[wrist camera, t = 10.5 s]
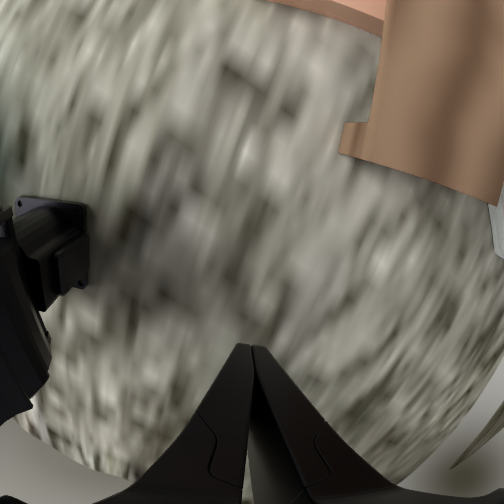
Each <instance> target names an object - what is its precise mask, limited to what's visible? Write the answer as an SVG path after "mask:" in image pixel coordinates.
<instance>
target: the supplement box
mask: <svg viewBox="0 0 504 504" xmlns="http://www.w3.org/2000/svg"><path fill="white" fill-rule="evenodd" d="M488 207H489V213H490V220H491V226H492V234H493V243H494V253H495V254H497V255H498V256H500V257H501V258H503V259H504V182H503V186H502V191H501V195H500V198H499V202H498V206H497V207H495V206H493V205H491V204H488Z"/></svg>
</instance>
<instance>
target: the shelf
mask: <svg viewBox="0 0 504 504" xmlns="http://www.w3.org/2000/svg"><path fill="white" fill-rule="evenodd" d="M338 153H341V154H345V155H349V156H352V157H356V158H359V159H363V160H366V161H370V162H373V163H376V164H380V165H383V166H386V167H390V168H393V169H396V170H399V171H403V172H406V173H409V174H412V175H415V176H418V177H421V178H424V179H426V180H429V181H432V182H435V183H438V184H440V185H443V186H446V187H449V188H451V189H454V190H456V191H459V192H462V193H464V194H467V195H469V196H472V197H474V198H477V199H479V200H481V201H484V202H486V203H488V204H491V205H493V206H495V207H497V206H498V202H499V198H500V195H501V191H502V186H503V182H504V0H386V9H385V18H384V27H383V35H382V43H381V50H380V57H379V64H378V70H377V77H376V83H375V89H374V94H373V100H372V105H371V111H370V116H369V121H368V122H358V123H345V124H344V129H343V133H342V138H341V143H340V148H339V152H338Z"/></svg>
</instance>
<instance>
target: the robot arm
mask: <svg viewBox="0 0 504 504" xmlns="http://www.w3.org/2000/svg"><path fill="white" fill-rule="evenodd" d="M20 201H21V202H22V205H21V203H20ZM15 208H16V218H14V219H13V220H12V216H13V212H12V207H11V206H8V207H2V206H0V426H1V425H2V424H3V423H4V422H5V421H7V420H9V419H10V418H12V417H14V416H15V415H17V414H19V413H22V412H25V411H27V410H30V409H32V408H33V404H32V403H31V401H30V399H31V398H32V397H33V396H34V395H35V394H36V393H37V392H38V391H40V390H41V389H42V388H43V386H44V385H45V383H46V382H47V380H48V379H49V376H50V375H49V373H48V369H49V366H50V362H51V359H52V355H51V348H50V343H51V337H50V334H49V332H48V331H46V328H45V326H44V323H43V321H42V318H41V316H40V313H39V311H42V312H45V311H46V310H47V309H48V308H49V307H50V306H51V305H52V303H53V302H54V301H55V300H56V299H57V298H58V297H59V295H60V296H64V295H65V294H66V293H67V292H68V291H69V290H70V289H71V288H72V287H74V288H79V289H84V288H86V286H87V285H88V269H89V267H90V266H89V236H88V235H87V233H86V217H87V210H86V207H85V205H84V204H83V203H79V202H70V201H62V200H54V199H45V198H37V197H28V196H20V197H18V198H17V199H16V201H15ZM78 208H80V210H81V213H79V212H78V210H77V209H78ZM80 280H81V281H82V282H83V284H82V283H81V282H80ZM247 449H248V458H249V467H250V475H251V484H252V492H253V500H254V504H504V488H499V489H497V490H495V491H493V492H491V493H490V494H487V495H485V496H481V497H472V498H468V497H467V498H466V497H455V496H446V495H439V494H431V493H425V492H419V491H414V490H409V489H405V488H402V487H399V486H397V485H395V484H393V483H392V482H390V481H389V480H387V479H386V478H385V477H384V476H382V475H381V474H380V473H379V472H378V471H377V470H375V469H374V468H373V467H372V466H371V465H370V464H369V463H367V462H366V461H365V460H364V459H363V458H362V457H361V456H359V455H358V454H357V453H356V452H355V451H354V450H353V449H352V448H351V447H350V446H349V445H348V444H347V443H346V442H345V441H344V440H343V439H342V438H341V437H340V436H339V435H338V434H337V433H336V432H335V431H334V429H333V428H332V427H331V426H330V425H329V424H328V422H327V421H325V419H324V418H323V417H322V416H321V414H320V413H319V412H318V411H317V410H316V408H315V407H314V406H313V405H312V404H311V402H310V401H309V400H308V399H307V398H306V396H305V395H304V394H303V393H302V391H301V390H300V389H299V388H298V387H297V385H296V384H295V383H294V382H293V380H292V379H291V378H290V377H289V376H288V374H287V373H286V372H285V371H284V369H283V368H282V367H281V366H280V364H279V363H278V362H277V361H276V359H275V358H274V357H273V356H272V354H271V353H270V352H269V350H268V349H267V348H266V347H265V346H260V345H252V346H250V345H249V344H242V343H237V344H236V346H235V347H234V349H233V351H232V352H231V354H230V356H229V357H228V359H227V361H226V362H225V364H224V366H223V367H222V369H221V370H220V372H219V374H218V375H217V377H216V379H215V380H214V382H213V384H212V385H211V387H210V389H209V390H208V392H207V393H206V395H205V397H204V398H203V400H202V401H201V403H200V405H199V406H198V408H197V409H196V411H195V413H194V414H193V416H192V417H191V419H190V420H189V422H188V423H187V425H186V426H185V428H184V429H183V430H182V432H181V433H180V435H179V436H178V437H177V438H176V439H175V441H174V442H173V443H172V444H171V445H170V447H169V448H168V449H167V450H166V451H165V452H164V453H163V454H162V455H161V456H160V457H159V458H158V459H157V461H156V462H155V463H154V464H153V465H152V466H151V467H150V468H149V469H148V470H147V471H146V472H145V473H144V474H143V475H142V476H141V477H140V478H139V479H138V480H137V481H136V482H134V483H133V484H132V485H131V486H130V487H128V488H126V489H125V490H123V491H121V492H119V493H117V494H114V495H112V496H110V497H107V498H105V499H103V500H101V501H98V502H95V503H93V504H241V502H242V489H243V482H244V473H245V464H246V455H247ZM0 504H27V503H25V502H23V501H21V500H19V499H16V498H14V497H11V496H8V495H4V496H1V497H0Z"/></svg>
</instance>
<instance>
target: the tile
mask: <svg viewBox="0 0 504 504" xmlns="http://www.w3.org/2000/svg"><path fill="white" fill-rule="evenodd" d="M266 1H271V2H275V3H280V4H284V5H288V6H292V7H296V8H300V9H303V10H307V11H310V12H314V13H317V14H320V15H323V16H327V17H330V18H333V19H336V20H339V21H341V22H344V23H347V24H350V25H352V26H355V27H358V28H360V29H363V30H365V31H368V32H370V33H373V34H375V35H377V36H380V37H382V35H383V27H384V18H385V9H386V0H266Z"/></svg>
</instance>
